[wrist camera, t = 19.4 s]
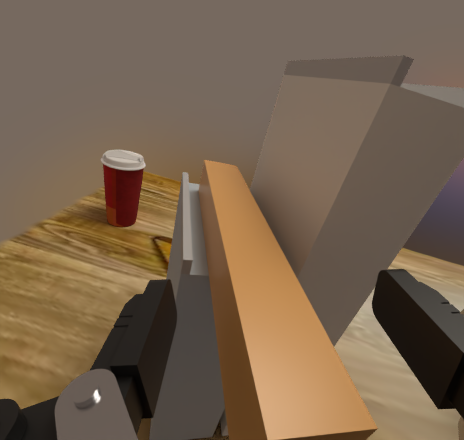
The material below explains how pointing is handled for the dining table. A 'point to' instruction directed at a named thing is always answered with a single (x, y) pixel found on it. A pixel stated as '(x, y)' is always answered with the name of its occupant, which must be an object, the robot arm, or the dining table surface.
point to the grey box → (190, 335)
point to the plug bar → (269, 328)
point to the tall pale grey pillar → (352, 173)
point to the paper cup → (122, 185)
